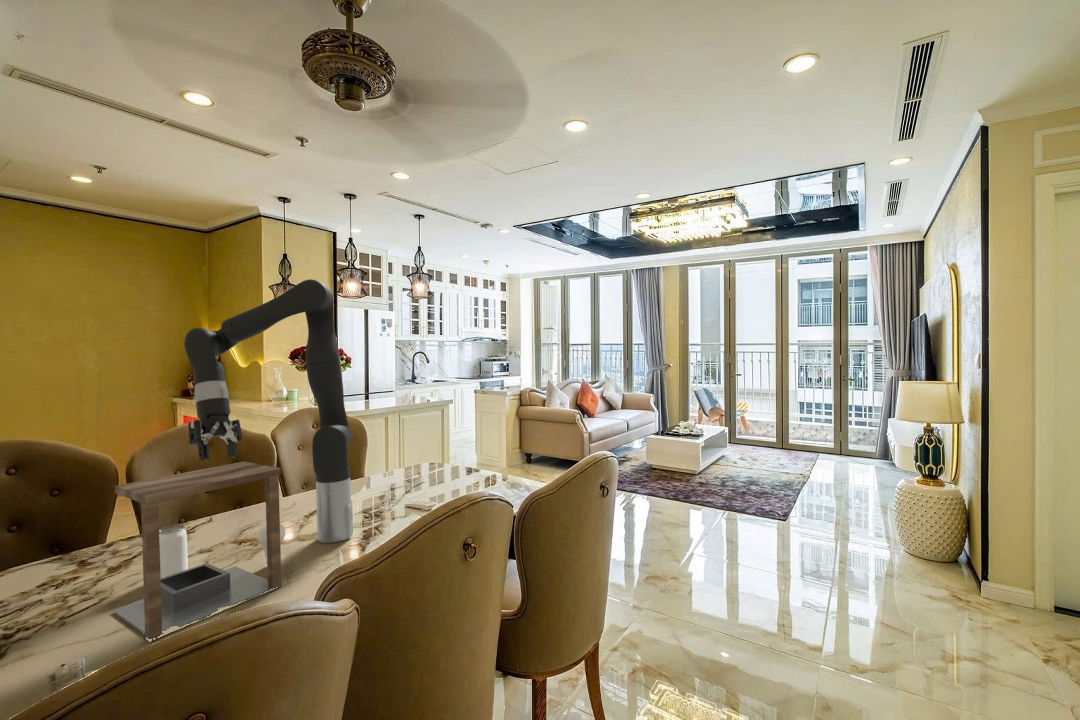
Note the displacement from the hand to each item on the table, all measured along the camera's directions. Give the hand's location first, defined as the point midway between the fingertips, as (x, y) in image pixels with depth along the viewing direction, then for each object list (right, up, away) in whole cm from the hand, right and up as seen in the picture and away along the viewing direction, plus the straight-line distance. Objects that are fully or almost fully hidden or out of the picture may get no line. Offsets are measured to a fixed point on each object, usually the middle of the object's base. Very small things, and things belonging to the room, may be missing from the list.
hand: (219, 458), depth 129 cm
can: (-3, -27, -12) cm, 30 cm away
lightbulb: (+18, -26, -7) cm, 32 cm away
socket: (+11, -26, -23) cm, 37 cm away
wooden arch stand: (+14, -26, -25) cm, 39 cm away
